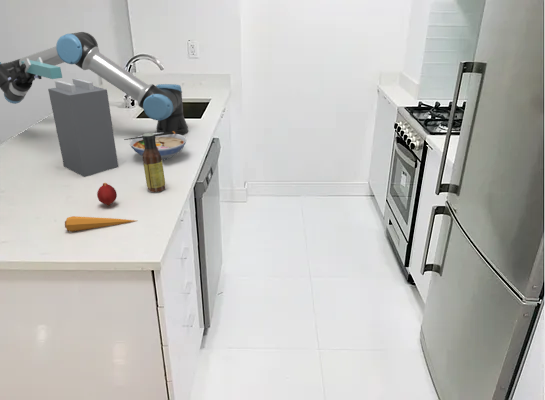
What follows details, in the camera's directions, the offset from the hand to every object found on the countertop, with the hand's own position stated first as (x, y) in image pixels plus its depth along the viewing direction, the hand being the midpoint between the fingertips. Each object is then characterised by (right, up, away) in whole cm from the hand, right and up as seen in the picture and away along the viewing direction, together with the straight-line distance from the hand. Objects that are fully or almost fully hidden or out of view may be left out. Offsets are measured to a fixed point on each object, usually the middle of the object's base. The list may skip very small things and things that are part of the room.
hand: (34, 61), depth 175 cm
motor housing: (+24, -42, -4) cm, 49 cm away
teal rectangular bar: (+3, -5, -1) cm, 6 cm away
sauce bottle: (+54, -52, -22) cm, 79 cm away
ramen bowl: (+48, -38, +7) cm, 62 cm away
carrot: (+45, -64, -46) cm, 91 cm away
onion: (+42, -57, -34) cm, 79 cm away
